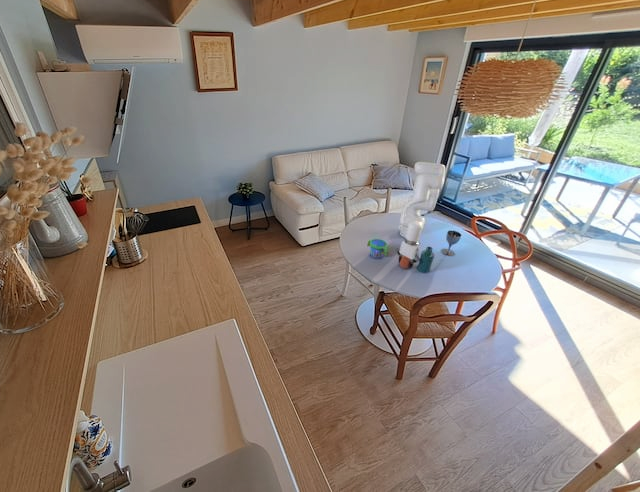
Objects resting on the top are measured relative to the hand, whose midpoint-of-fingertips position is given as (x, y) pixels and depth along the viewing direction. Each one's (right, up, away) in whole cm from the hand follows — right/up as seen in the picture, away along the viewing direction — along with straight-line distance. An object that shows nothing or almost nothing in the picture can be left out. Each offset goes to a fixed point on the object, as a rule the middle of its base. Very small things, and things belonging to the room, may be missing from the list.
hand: (405, 264), depth 180 cm
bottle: (+10, -3, -3) cm, 11 cm away
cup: (0, -1, +1) cm, 1 cm away
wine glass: (+35, +6, +13) cm, 37 cm away
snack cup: (-15, +4, +10) cm, 19 cm away
